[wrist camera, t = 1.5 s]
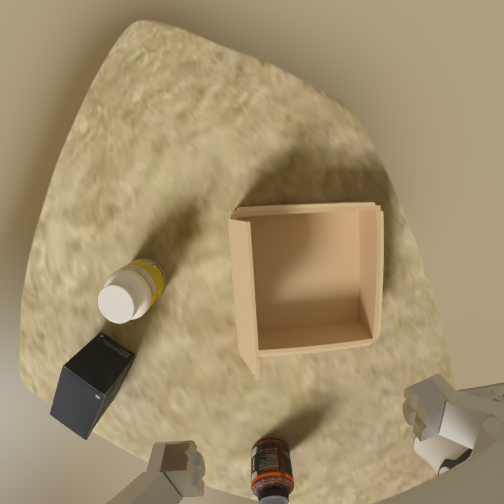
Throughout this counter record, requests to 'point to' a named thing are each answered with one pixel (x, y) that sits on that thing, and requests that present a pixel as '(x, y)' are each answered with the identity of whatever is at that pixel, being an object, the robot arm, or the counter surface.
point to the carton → (316, 275)
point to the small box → (90, 384)
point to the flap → (244, 292)
